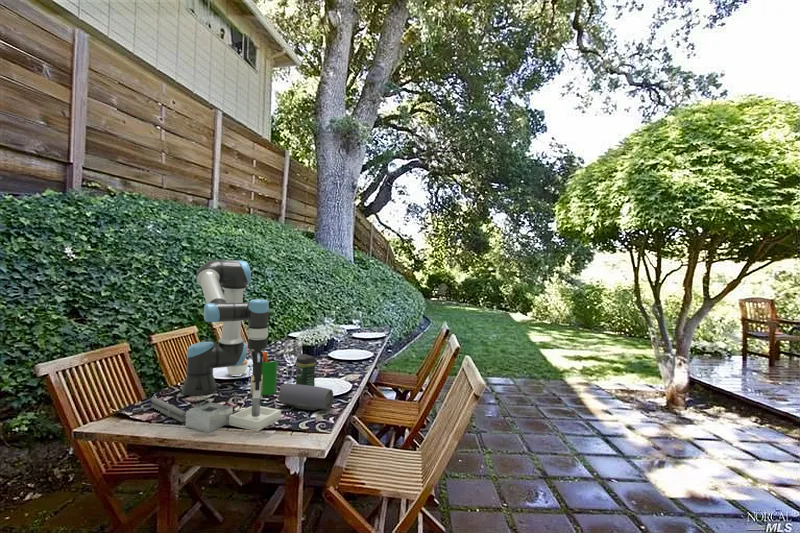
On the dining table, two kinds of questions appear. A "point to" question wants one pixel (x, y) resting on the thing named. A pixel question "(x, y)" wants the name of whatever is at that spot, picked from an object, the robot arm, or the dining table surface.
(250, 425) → the tray
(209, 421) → the block
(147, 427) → the dining table surface
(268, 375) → the green cylinder
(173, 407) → the metal rod assembly
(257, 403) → the tan knobbed cylinder
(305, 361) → the coffee jar
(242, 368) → the lidded jar
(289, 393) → the bluetooth speaker
